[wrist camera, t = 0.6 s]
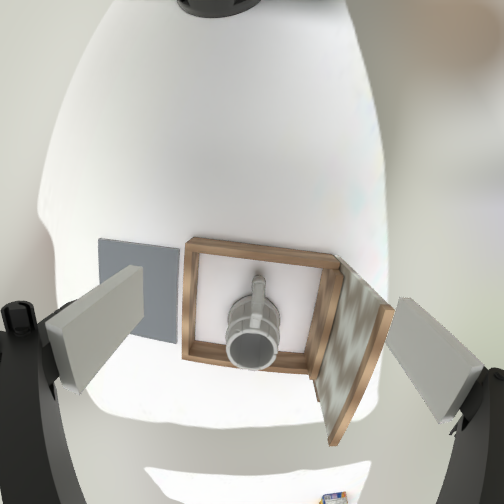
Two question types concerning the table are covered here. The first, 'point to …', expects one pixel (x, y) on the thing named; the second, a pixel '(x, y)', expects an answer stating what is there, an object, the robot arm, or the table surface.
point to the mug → (253, 330)
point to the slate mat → (147, 283)
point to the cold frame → (321, 331)
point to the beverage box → (334, 498)
